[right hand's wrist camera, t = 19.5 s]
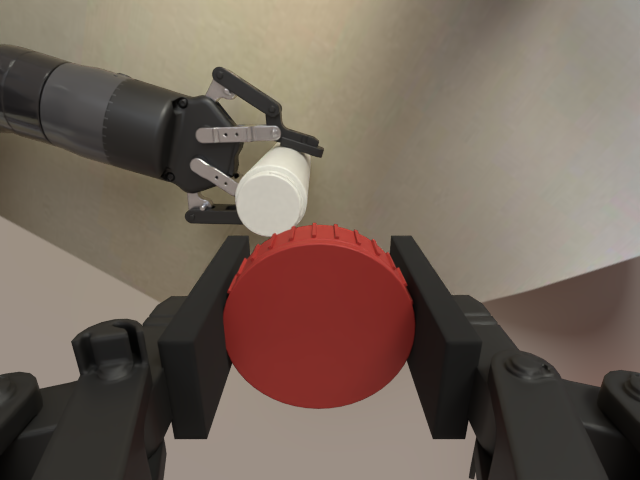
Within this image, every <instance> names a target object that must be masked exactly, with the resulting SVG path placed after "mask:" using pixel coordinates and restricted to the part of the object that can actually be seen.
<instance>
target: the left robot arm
mask: <svg viewBox="0 0 640 480" xmlns="http://www.w3.org/2000/svg"><path fill="white" fill-rule="evenodd" d="M212 76H213V81H212V83H211V85H210V87H209V89H208V91H207V93H206V95H201V96H197V97H190V96H187V95H184V94H180V93H177V92H174V91H171V90H168V89H164V88H161V87H158V86H155V85H152V84H149V83H145V82H142V81H139V80H136V79H132V78H131V77H129V76H127V75H124V74H121V73H114V72H110V71H107V70H104V69H100V68H95V67H89V66H83V65H78V64H75V63H71V62H68V61H65V60H62V59H59V58H55V57H52V56H49V55H46V54H43V53H39V52H36V51H33V50H29V49H26V48H22V47H19V46H14V45H4V44H1V45H0V133H13V134H16V135H19V136H22V137H25V138H29V139H32V140H36V141H39V142H43V143H46V144H50V145H53V146H57V147H60V148H63V149H65V150H68V151H70V152H72V153H75V154H77V155H79V156H82V157H85V158H88V159H91V160H95V161H98V162H101V163H105V164H108V165H112V166H115V167H119V168H122V169H126V170H129V171H133V172H136V173H140V174H143V175H147V176H150V177H154V178H157V179H160V180H164V181H168V182H172V183H174V184H176V185H177V186H179V187H180V188H181V189H182V190H183V191H185V192H187V195H188V205H189V211H187V212H186V214H185V219H186V220H187V221H188V222H189V223H200V224H243V223H242V221H241V220H240V218H239V216H238V213H237V208H236V205H234V204H214V203H213V201H212V200H211V199H210V198H206V197H204V196H203V195H202V194H201V191H204V190H206V189H209V188H212V187H215V186H218V187H220V188H221V189H223V190H224V191H226V192H227V193H229V194H231V195H232V196H235V193H236V189H237V186H238V184H239V182H240V180H241V179H242V177H243V176H244V175H243V174H241V173H240V172H238V171H237V170H238V165H239V160H238V155H239V153H240V151H241V150H242V148H243V143H244V142H252V141H276V142H279V143H280V146H283V147H286V148H290V149H293V150H296V151H299V152H303V153H306V154H309V155H312V156H316V157H319V158H322V154H323V151H324V148H322V147H320V146H318V144H319V140H317V139H316V138H315V137H313V136H310V135H307V134H304V133H301V132H297V131H294V130H291V129H288V128H286V127H285V126H284V125H283V122H282V114H281V112H282V106H281V105H280V103H278V102H277V101H275V100H274V99H272V98H271V97H269V96H268V95H266V94H265V93H263V92H262V91H260V90H259V89H257V88H256V87H254V86H253V85H251V84H250V83H248V82H247V81H245V80H244V79H242V78H241V77H239V76H237V75H236V74H234V73H233V72H231V71H230V70H228V69H225V68H222V67H216V68H215V69H214V70H213V73H212ZM237 96H239V97H240V98H242V99H243V100H245V101H246V102H248V103H249V104H251V105H252V106H254V107H256V108H257V109H259V110H260V111H262V112H263V113H265V114H266V124H260V125H257V124H248V125H236V123H235V122H234V121H233V120H232V118H231V117H230V116H229V115H228V113H227V112H226V111H225V110H224V108H223V107H222V106H221V105H220V103H219V102H218V101H219V99H221V98H225V99H235V98H236V97H237ZM233 176H234V177H233ZM226 182H227V184H226Z"/></svg>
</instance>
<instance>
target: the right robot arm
mask: <svg viewBox="0 0 640 480" xmlns="http://www.w3.org/2000/svg"><path fill="white" fill-rule="evenodd" d="M249 256H250V248H249V236H228V237H227V239H226V240H225V242H224V243H223V245H222V246H221V247H220V249H219V250H218V252H217V253H216V255H215V256H214V258H213V259H212V261H211V262H210V264H209V265H208V267H207V268H206V270H205V271H204V273H203V274H202V276H201V277H200V279H199V280H198V282H197V283H196V285H195V286H194V287H193V289H192V290H191V292H190V293H189V295H188V296H171V297H170V298H168V299H166V300H165V301H163V302H162V303H160V304H159V305H157V306H156V308H155V309H154V310H153V311H152V313H151V314H150V315H149V317H148V318H147V319H146V320H145V322H144V323H143V326H142V325H141V324H140V323H139V322H137V321H135V320H130V319H114V320H110V321H105V322H101V323H99V324H96V325H94V326H91V327H89V328H87V329H85V330H84V331H82V332H81V333H79V334H78V335H77V336H76V337H75V338H74V339H73V340H72V341H71V343H72V346H73V350H74V353H75V357H76V361H77V364H78V368H79V372H80V377H79V379H78V381H74V382H70V383H66V384H61V385H56V386H51V387H47V388H42V389H39V386H38V383H37V380H36V378H35V377H34V376H33V375H32V374H30V373H24V372H15V373H7V374H2V375H0V480H163V478H164V470H165V462H166V447H165V442H164V436H165V434H166V432H167V430H168V427H169V425H170V423H171V422H172V427H173V433H174V438H175V439H207V437H208V434H209V431H210V428H211V425H212V422H213V419H214V416H215V413H216V410H217V407H218V404H219V401H220V398H221V395H222V392H223V389H224V386H225V383H226V380H227V377H228V374H229V371H230V368H231V365H232V361H231V359H230V357H229V355H228V353H227V350H226V342H225V333H224V323H223V311H224V307H225V304H226V301H227V298H228V296H229V294H228V293H227V291H228V289H229V287H230V285H231V283H232V281H233V279H234V277H235V275H236V274H237V272H238V270H239V268H240V266H241V264H242V262H243V260H244V258H246V259H248V257H249ZM390 256H391V258H392V260H393V262H394V264H395V267H396V268H398V267H399V269H400V271H401V273H402V275H403V277H404V279H405V281H406V283H407V286H406V287H407V289H408V291H409V293H410V296H411V298H412V300H413V303H414V304H412V306H413V309H414V314H415V337H414V342H413V346H412V349H411V352H410V354H409V357H408V359H407V363H408V366H409V369H410V372H411V375H412V378H413V381H414V384H415V387H416V390H417V393H418V396H419V399H420V402H421V405H422V407H423V411H424V413H425V417H426V420H427V423H428V426H429V429H430V432H431V435H432V437H433V439H465V437H466V431H467V426H468V420H469V422H470V424H471V426H472V428H473V430H474V433H475V435H476V441H475V447H474V452H473V457H472V462H471V467H470V474H469V478H471V479H474V477H475V472H476V477H477V480H640V373H637V372H631V371H624V370H618V371H610V372H609V373H608V374H606V375H605V376H604V379H603V382H602V385H601V387H597V386H592V385H587V384H582V383H578V382H573V381H568V380H565V379H562V378H561V376H560V374H559V373H558V372H557V370H556V369H555V368H554V367H553V366H552V365H551V364H549V363H548V362H547V361H545V360H544V359H542V358H540V357H538V356H535V355H533V354H531V353H527V352H523V351H520V350H519V349H518V348H517V347H516V345H515V344H514V343H513V342H512V340H511V339H510V338H509V337H508V335H507V334H506V333H505V332H504V330H503V329H502V328H501V326H500V325H497V321H496V320H495V319H494V318H493V316H491V315H490V313H489V311H488V310H487V309H486V308H485V306H484V305H483V304H482V303H480V302H479V301H477V300H476V299H474V298H472V297H471V296H469V295H451V294H450V292H449V291H448V289H447V288H446V286H445V285H444V283H443V282H442V280H441V279H440V277H439V276H438V275H437V273H436V272H435V270H434V269H433V267H432V266H431V264H430V263H429V261H428V260H427V258H426V257H425V255H424V254H423V252H422V251H421V249H420V248H419V246H418V245H417V243H416V242H415V240H414V239H413V237H412V236H391V245H390Z"/></svg>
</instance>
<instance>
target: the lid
mask: <svg viewBox="0 0 640 480" xmlns="http://www.w3.org/2000/svg"><path fill="white" fill-rule="evenodd" d="M406 286H407V283H406V281H405V279H404V277H403V275H402V273H401V271H400V269H399V267H398V268H396V267H395V264H394V262H393V260H392V258H391V256H390V254H389V253H388V252H387V253H385V252H384V251H383V250H382V249H381V248H380V247H379V246H377V244H376V241H375V240H374V239H372V240H369V239H368V238H366V237H364V236H362V235H360V234H359V233H358V231H357V230H354V231H351V230H348V229H345V228H340V227H338V225H337V224H334V226H328V225H316V223H313V225H308V226H302V227H297V228H296V227H295V226H292V227H291V229H290V230H287V231H284V232H282V233H280V234H277V235H276V233H274V234H272V237H271V238H270V239H269V240H267V241H265V242H264V243H263V244H261V245H259V244H258V245H256V247H255V249H254V251H253V253H252V254H251V255H250V256H249V257H248V259H246V258H244V260H243V262H242V264H241V266H240V268H239V270H238V272H237V274H236V275H235V277H234V279H233V281H232V283H231V285H230V287H229V289H228V291H227V293H228V294H229V296H228V298H227V301H226V304H225V307H224V311H223V323H224V333H225V342H226V350H227V353H228V355H229V357H230V359H231V361H232V363H233V365H234V366H235V368H236V369H237V371H238V372H239V373H240V374H241V375H242V377H243V378H244V379H245V380H246V381H247V382H248V383H250V384H251V385H252V386H253V387H254V388H256V389H257V390H259V391H260V392H261V393H263V394H265V395H267V396H269V397H270V398H272V399H275V400H277V401H280V402H282V403H285V404H289V405H293V406H297V407H303V408H314V409H323V408H334V407H341V406H345V405H349V404H352V403H355V402H358V401H361V400H363V399H365V398H367V397H369V396H371V395H373V394H375V393H376V392H378V391H379V390H381V389H382V388H383V387H385V386H386V385H387V384H388V383H389V382H390V381H391V380H392V379H393V378H394V377H395V376H396V375H397V374H398V373H399V371H400V370H401V369H402V367H403V366H404V364H405V362H406V360H407V359H408V357H409V354H410V352H411V349H412V346H413V342H414V337H415V314H414V309H413V306H412V304H414V303H413V300H412V298H411V296H410V293H409V291H408V289H407V287H406Z"/></svg>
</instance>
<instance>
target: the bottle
mask: <svg viewBox="0 0 640 480" xmlns="http://www.w3.org/2000/svg"><path fill="white" fill-rule="evenodd" d="M310 168H311V156H310V155H309V154H306V153H303V152H299V151H296V150H293V149H290V148H286V147H283V146H280V143H279V142H278V143H276V144H275V145H274V146H273V147H272V148H271V149H270V150H269V151H268V152H267V153H266V154H265V155H264V156H263V157H262V158H261V159H260V160H259V161H258V162H257V163H256V164H255V165H254V166H253V167H252V168H251V169H250V170H249V171H248V172H247V173H246V174H245V175H244V176H243V177H242V179H241V180H240V182H239V184H238V186H237V189H236V193H235V203H236V208H237V213H238V216H239V218H240V220H241V221H242V223H243V224H244V225H245V226H246V227H247V228H248V229H249V230H250V231H252V232H254V233H255V234H258V235H261V236H266V237H272V234H274V233H276V235H277V234H280V233H282V232H284V231H287V230H290V229H291V227H292V226H295V227H296V226H297V225H298V224H299V222H300V221H301V220H302V218H303V216H304V214H305V211H306V208H307V199H308V189H309V178H310Z"/></svg>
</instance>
